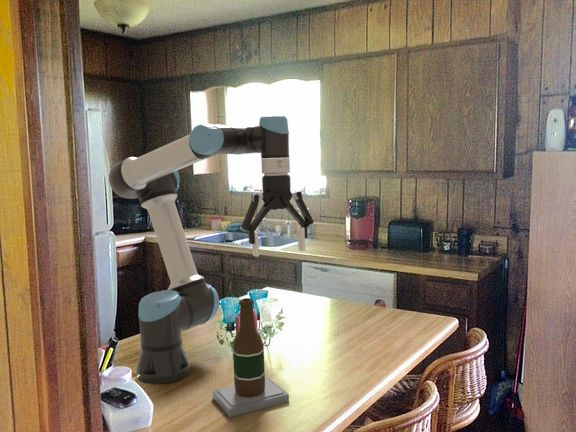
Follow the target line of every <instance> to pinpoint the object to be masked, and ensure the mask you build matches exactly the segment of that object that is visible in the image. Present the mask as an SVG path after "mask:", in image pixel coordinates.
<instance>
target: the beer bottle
mask: <svg viewBox="0 0 576 432" xmlns="http://www.w3.org/2000/svg"><path fill="white" fill-rule="evenodd" d="M254 304H255V302H254V299H252V298H249V297H245V298H241V299H239V302H238V305H239V328H238V329H239V330H238V332H237V334H236V335H235V336H234V339H233V343H232V354H233V355H232V358H233V359H232V360H233V381H234V386H235V391H236V392H237V394H238V395H239V396H243V397H254V396H258V395H260V394H261V393H262V392H263V391H264V390H265V378H266V376H265V373H266V372H265V348H264V342H263V339H262V337H261V335H260V334H259V333H260V332H259V331H257V328H256V327H257V326H256V324H255V323H256V322H255V314H254V313H255V312H254Z"/></svg>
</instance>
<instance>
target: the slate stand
mask: <svg viewBox="0 0 576 432" xmlns="http://www.w3.org/2000/svg"><path fill="white" fill-rule="evenodd" d="M289 396H290V394H289V393H288V392H287V391H286V390H284V389H283V388H282V387H281V386H279V384H277V383H276V382H275V381H274V380H272V379H271V378H270V377H265V390H264V391H263V392H262V393H261V394H260V395H258V396H254V397H243V396H239V395H238V394H237V392H236V391H235V385H232V386H227V387H223V388H218V389H215V390H212V399H213V400H214V401H215V402H216V403H217V405H218V406H220V408H221V409H222V410H223V411H224V413H225V414H226V415H227V416H228V417H229V418H232V417H236V416H240V415H243V414H248V413H250V412H251V413H253V412H254V411H256V412H257V411H258V410H263V409H266V408H270V407H273V406H278V405H281V404H284V403H285V404H286V403H289V402H290V397H289Z"/></svg>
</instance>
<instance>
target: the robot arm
mask: <svg viewBox="0 0 576 432" xmlns="http://www.w3.org/2000/svg"><path fill="white" fill-rule="evenodd" d="M288 124H289V121H288V119H287V117H286V116H284V115H265V116H260V118H259V124H256V125H255V124H254V125H229V124H226V125H225V124H214V123H205V124H198V125H195V126H194V127H193V128H192V130H191V131H190V133H189V134H187V135H186V136H183V137H181V138H179V139H176V140H174V141H172V142H170V143H169V142H168V143H167V144H166V145H163V146H160V147H158V148H156V149H154V150H152V151H149V152H147V153H145V154H143V155H140V156H138V157H135V156H131V157H126V158H125V159H123V160H120V161H118V162H117V163H115V164H114V165H113V166H112V167H111V169H110V171H109V173H108V183H109V186H110V188H111V189H112V191H113V192H114V193H115V194H116V195H118V196H119V197H121V198H124V199H130V200H132V199H133V200H135V199H138V201H139V203H140V206H141V208H143V209H146V210H147V212H148V216H149V218H150V221H151V224H152V227H153V231H154V234H155V237H156V240H157V243H158V247H159V249H160V253H161V257H162V259H163V262H164V265H165V269H166V270H167V271H166V272H167V275H168V277H169V280H170V281H169V282H170V284H169V286H168V288H167V289H166V290H165V289H162V290H160V291H158V290H157V291H154V292H152V293H149V294H147V295H145V296H143V297H142V298H141V299H140V301H139V303H138V312H137V313H138V314H137V315H138V322H139V323H138V324H139V333H140V334H139V336H140V337H139V338H140V353H139V357H138V361H137V365H136V369H135V372H136V374H139V375H140V376H139V377H138V378H137V377H136V379H137V380H138V381H140V382H141V383H143V384H151V385H159V384H161V385H162V384H168V383H173V382H177V381H179V380H181V379H183V378H185V377H186V376H188V375H189V374H190V371H191V368H190V361H189V358H188V357H187V354H186V351H185V349H184V345H183V336H182V335H183V334H182V333H183V332H186V331H188V330H191V329H192V328H193V329H194V328H196V327H197V326H201V325H205V324H207V322H209V321H211V320H213V319H214V318H215V317H216V315H217V313H218V310H219V307H220V299H219V298H220V297H219V295H218V292H217V290H216V288H215V287H213V286H212V285H211V284H210V283H209V284H208V283H207V282H206V280H205V277H204V276H203V275H200V274H199V273H198V270H197V268H196V265H195V262H194V259H193V256H192V253H191V249H190V246H189V242H188V240H187V237H186V233H185V231H184V228H183V224H182V220H181V217H180V215H179V211H178V208H177V206H176V201H177V197H178V193H177V192H178V190H179V187H180V185H179V184H180V183H181V179H180V174H179V171H180V170H181V169H185V168H186V167H189V166H191V165H194V164H197V163H199V162H201V161H204V160H206V159H208V158H209V159H210V158H212V157H215V156H217V155H246V154H247V155H248V154H260V156H261V157H260V158H261V173H262V174H263V176H261V183H262V194H258V193H253V194H252V193H251V201H250V204H249V206H248V209H247V211H246V213H245V216H244V219H243V221H242V223H241V225H240V229H241V230H244V231H246V232H248V233H247V235H248V243H249V244H250V245H252V256H253V257H255V258H256V257H260V249H259V248H260V247H259V232H258V231H256V230H257V228H258V227H259V226H260V225H261V224H262V223H261V222H263V220H264V218H265V217H266V216H267V215H268V213H269V212H270V211H271V210H272V211H275V210H286V211H287V212H288V213H289V215H291V216H292V218H294V220H295V221H296V222H297V223H298V225H300V226H297V246H298V247H297V248H298V251H301V252H306V239H308V228H309V226H310V225H313V224H314V219H313V218H312V216H311V213H310V212H309V210H308V207H307V205H306V203H305V202H304V199H303V194H302V191H299V190H297V191H295V190H294V192H292V191H291V188H292V187H291V185H292V184H291V176H290V174H289V173H290V172H291V167H290V166H291V163H290V162H291V161H290V160H291V159H290V144H289V143H290V142H289V141H290V140H289V138H290V136H289V135H290V132H289V125H288ZM292 198H293V200H294V201H295V203H296V206H297V207H298V209H299V211H300V213H301V214H300V213H299V212H298V211H297V209H296V208H295V207H294V205H293V204H292V203H291V202H290V201H291V200H292ZM261 201H263V202H264V203H263V204H262V206H261V207H260V208H261V209H260V210H259V211H258V213H257V214H256V216H255V213H256V211H257V208H258V206H259V203H260V202H261ZM254 216H255V217H254ZM136 374H135V375H136Z"/></svg>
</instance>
